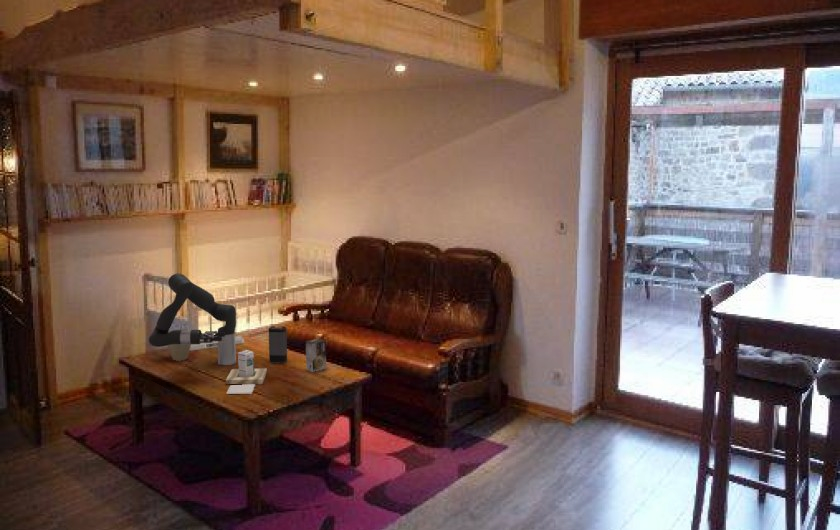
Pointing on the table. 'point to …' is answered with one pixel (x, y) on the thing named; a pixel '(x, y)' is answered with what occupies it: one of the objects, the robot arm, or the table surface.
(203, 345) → the newspaper
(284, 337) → the electronic device
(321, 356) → the coffee box
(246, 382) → the cream square board
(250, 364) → the syrup box
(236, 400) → the table surface
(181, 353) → the plant pot
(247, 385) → the ceramic tile
